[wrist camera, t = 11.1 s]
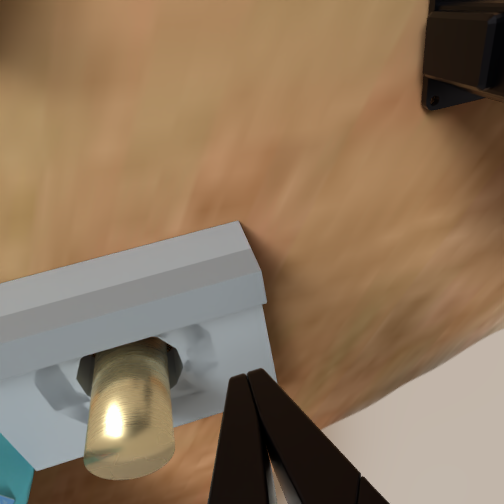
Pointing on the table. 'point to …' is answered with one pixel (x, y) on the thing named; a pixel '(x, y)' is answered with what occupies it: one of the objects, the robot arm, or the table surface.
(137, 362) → the brass cylinder
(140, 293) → the jig
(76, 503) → the table surface
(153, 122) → the table surface
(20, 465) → the game box
